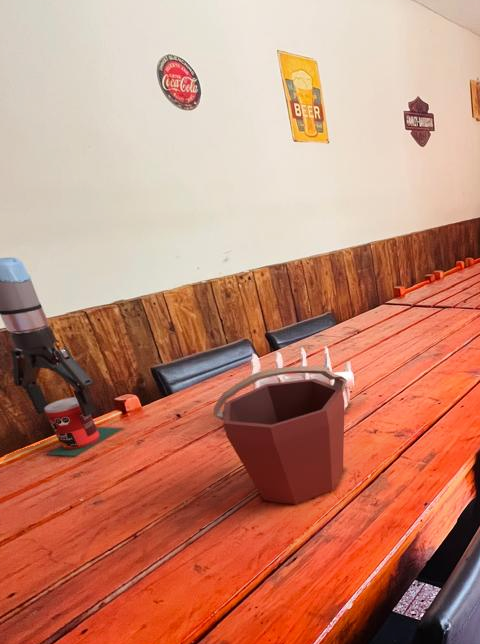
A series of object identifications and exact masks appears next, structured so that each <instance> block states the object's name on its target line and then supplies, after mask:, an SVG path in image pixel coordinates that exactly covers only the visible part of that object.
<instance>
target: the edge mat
mask: <svg viewBox="0 0 480 644" xmlns="http://www.w3.org/2000/svg"><path fill="white" fill-rule="evenodd" d="M96 428H97V430H98V433H99V440H98V441H96V442H95V443H93V444H91V445H89V446H86V447H83V448H80V449H74V450H67V449H64V448H63V447H62V445H61V446H60V447H58V448H56V449H54V450H52V451H50V452H49V453H47V456H60V457H61V456H63V457H76V456H78V455H80V454H81V453H83V452H84V451H86V450H88V449H90V448H92V447H93V446H95V445H97V444H98V443H100V442H102V441H103V440H105V439H107V438H109V437H111V436H112V435H114V434H115V433H117V432H119V431H120V430H122V429H121V428H111V427H110V428H109V427H96Z"/></svg>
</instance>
